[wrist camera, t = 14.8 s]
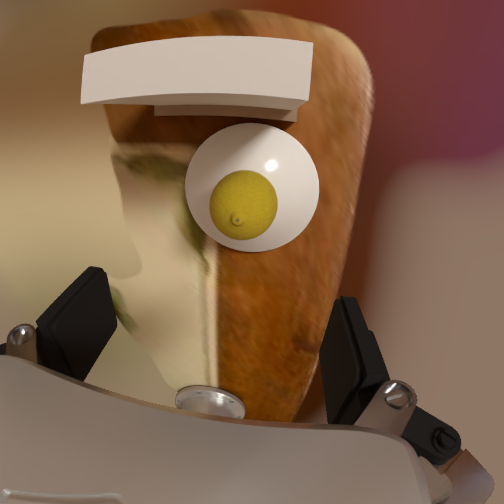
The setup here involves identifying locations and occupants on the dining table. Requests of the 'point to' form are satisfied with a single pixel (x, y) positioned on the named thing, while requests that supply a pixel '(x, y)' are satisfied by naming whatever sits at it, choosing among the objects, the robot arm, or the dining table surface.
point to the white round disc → (265, 163)
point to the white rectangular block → (204, 76)
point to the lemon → (243, 205)
